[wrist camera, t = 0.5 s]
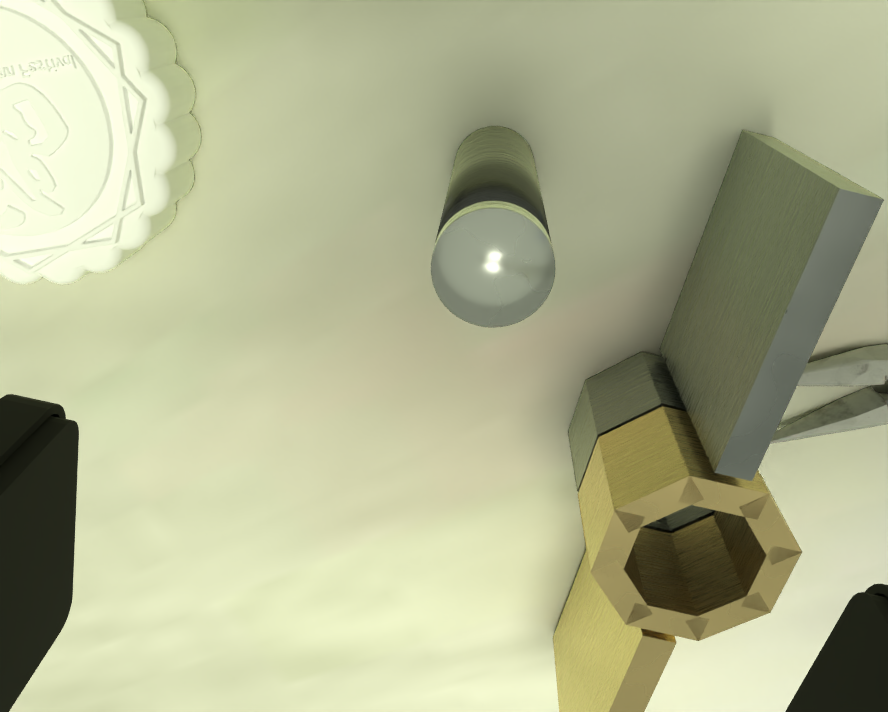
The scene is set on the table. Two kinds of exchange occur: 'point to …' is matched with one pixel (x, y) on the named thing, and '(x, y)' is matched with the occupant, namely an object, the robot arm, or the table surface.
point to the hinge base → (740, 313)
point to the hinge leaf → (661, 562)
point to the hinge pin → (493, 233)
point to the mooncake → (88, 136)
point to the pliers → (849, 410)
